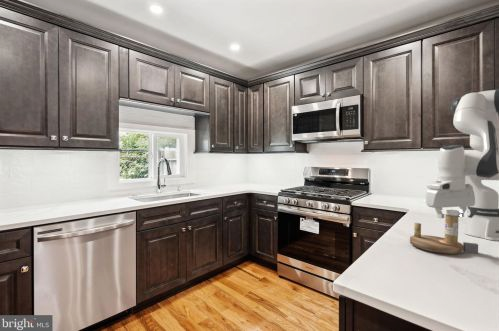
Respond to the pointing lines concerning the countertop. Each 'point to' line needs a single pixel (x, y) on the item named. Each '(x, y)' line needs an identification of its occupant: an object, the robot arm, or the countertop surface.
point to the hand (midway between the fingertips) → (450, 217)
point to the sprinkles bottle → (451, 226)
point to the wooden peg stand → (433, 242)
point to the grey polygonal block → (470, 247)
